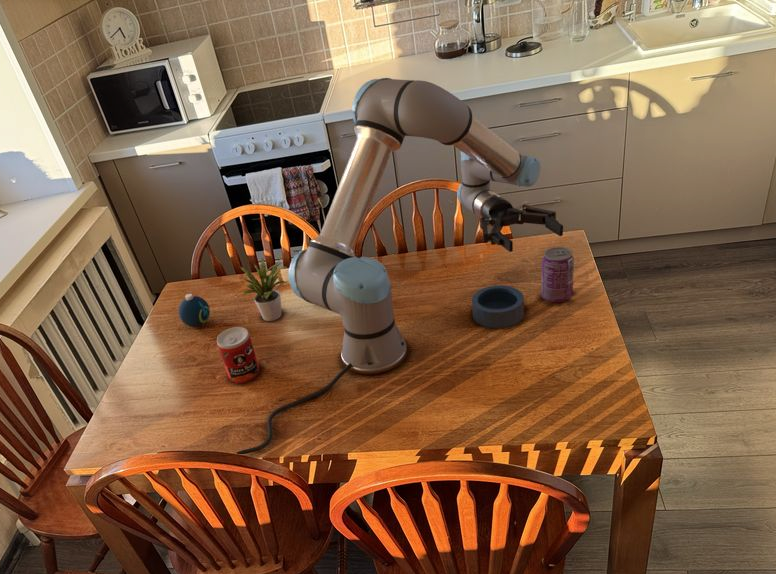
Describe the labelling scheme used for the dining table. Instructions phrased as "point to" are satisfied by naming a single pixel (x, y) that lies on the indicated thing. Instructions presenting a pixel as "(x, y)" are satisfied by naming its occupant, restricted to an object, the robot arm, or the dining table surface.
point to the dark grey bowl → (498, 306)
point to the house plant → (266, 291)
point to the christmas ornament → (194, 311)
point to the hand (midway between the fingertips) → (536, 238)
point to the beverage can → (557, 274)
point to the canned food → (238, 354)
